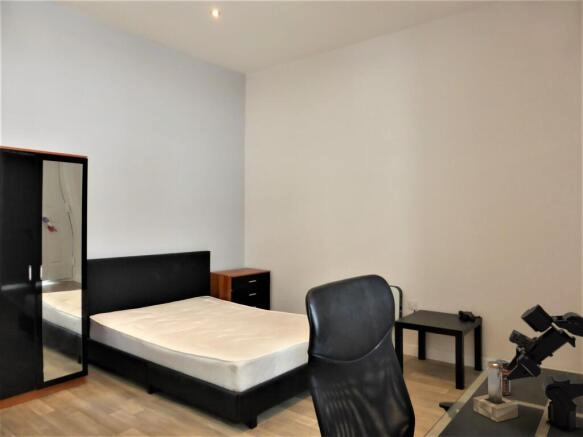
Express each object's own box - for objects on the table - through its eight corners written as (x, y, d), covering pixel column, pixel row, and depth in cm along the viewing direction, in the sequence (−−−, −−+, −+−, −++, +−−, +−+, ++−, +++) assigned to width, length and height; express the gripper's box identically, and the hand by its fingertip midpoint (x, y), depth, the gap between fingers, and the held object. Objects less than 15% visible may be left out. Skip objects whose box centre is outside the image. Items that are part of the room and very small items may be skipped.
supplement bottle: (492, 393, 148) (491, 362, 149) (492, 388, 154) (492, 357, 154) (511, 397, 146) (510, 364, 146) (511, 391, 151) (510, 359, 151)
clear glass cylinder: (506, 403, 132) (505, 364, 132) (496, 405, 130) (495, 366, 130) (494, 398, 136) (493, 360, 136) (484, 400, 134) (484, 362, 134)
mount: (517, 416, 131) (517, 403, 131) (497, 422, 127) (497, 408, 127) (493, 405, 139) (493, 393, 139) (473, 410, 135) (473, 397, 135)
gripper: (524, 317, 138) (487, 346, 143) (527, 329, 121) (486, 362, 126) (552, 344, 134) (514, 373, 139) (559, 360, 117) (515, 392, 122)
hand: (507, 374), depth 132 cm, fingers open, 9 cm apart
